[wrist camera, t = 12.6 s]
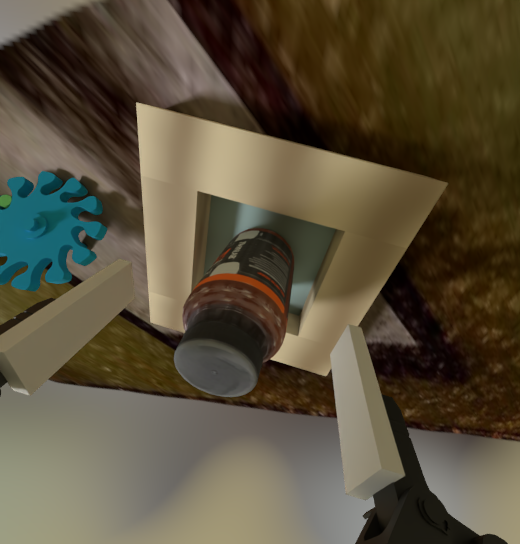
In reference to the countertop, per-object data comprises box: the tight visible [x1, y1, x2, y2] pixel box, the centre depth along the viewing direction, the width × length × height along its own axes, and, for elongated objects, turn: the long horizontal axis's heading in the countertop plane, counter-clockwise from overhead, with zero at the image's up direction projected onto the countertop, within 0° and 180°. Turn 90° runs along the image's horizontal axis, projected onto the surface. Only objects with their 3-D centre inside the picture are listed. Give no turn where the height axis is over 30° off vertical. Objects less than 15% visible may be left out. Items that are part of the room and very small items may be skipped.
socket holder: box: [136, 103, 448, 376], centre depth 19 cm, size 18×18×3 cm
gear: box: [0, 171, 107, 291], centre depth 20 cm, size 11×6×10 cm
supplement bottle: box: [174, 228, 294, 397], centre depth 15 cm, size 6×6×11 cm
